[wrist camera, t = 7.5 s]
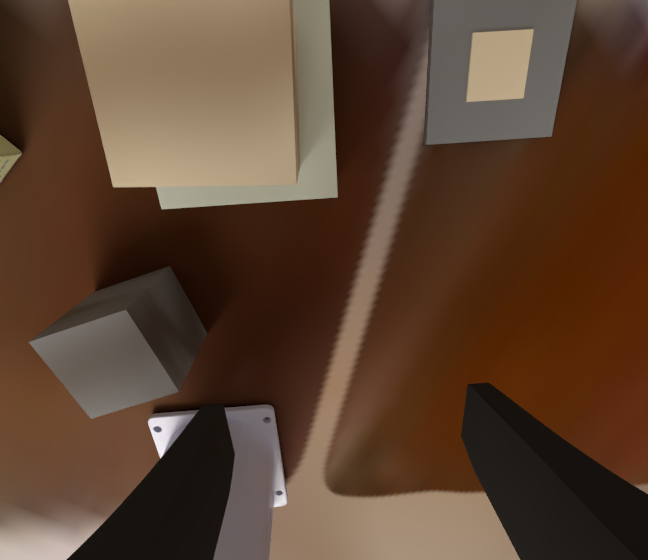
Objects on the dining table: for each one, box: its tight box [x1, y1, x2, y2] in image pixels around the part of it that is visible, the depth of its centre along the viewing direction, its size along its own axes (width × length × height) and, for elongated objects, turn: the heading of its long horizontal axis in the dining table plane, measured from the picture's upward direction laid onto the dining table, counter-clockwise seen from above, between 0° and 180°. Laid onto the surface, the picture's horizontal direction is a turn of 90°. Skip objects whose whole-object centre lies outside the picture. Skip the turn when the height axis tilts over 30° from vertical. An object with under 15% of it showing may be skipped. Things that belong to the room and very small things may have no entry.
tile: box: [424, 0, 577, 145], centre depth 15 cm, size 6×6×1 cm
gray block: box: [29, 266, 208, 419], centre depth 17 cm, size 4×4×5 cm
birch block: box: [68, 0, 300, 187], centre depth 10 cm, size 4×4×5 cm
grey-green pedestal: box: [156, 0, 338, 209], centre depth 14 cm, size 7×7×4 cm
